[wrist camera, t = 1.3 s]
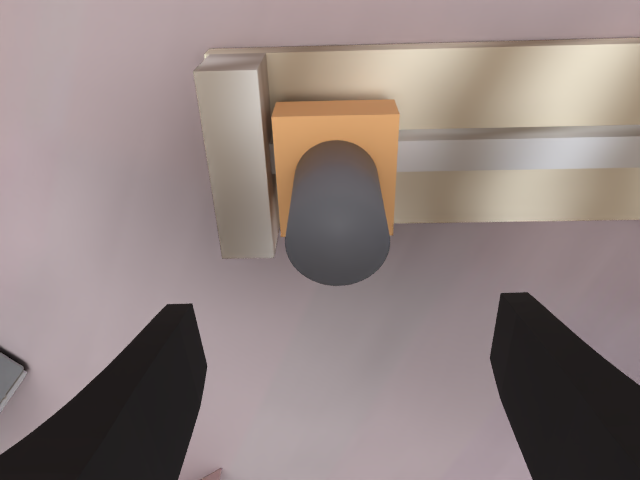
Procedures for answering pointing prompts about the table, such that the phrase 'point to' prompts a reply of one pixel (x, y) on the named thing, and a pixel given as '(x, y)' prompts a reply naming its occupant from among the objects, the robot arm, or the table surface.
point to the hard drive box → (9, 378)
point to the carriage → (336, 185)
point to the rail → (438, 128)
